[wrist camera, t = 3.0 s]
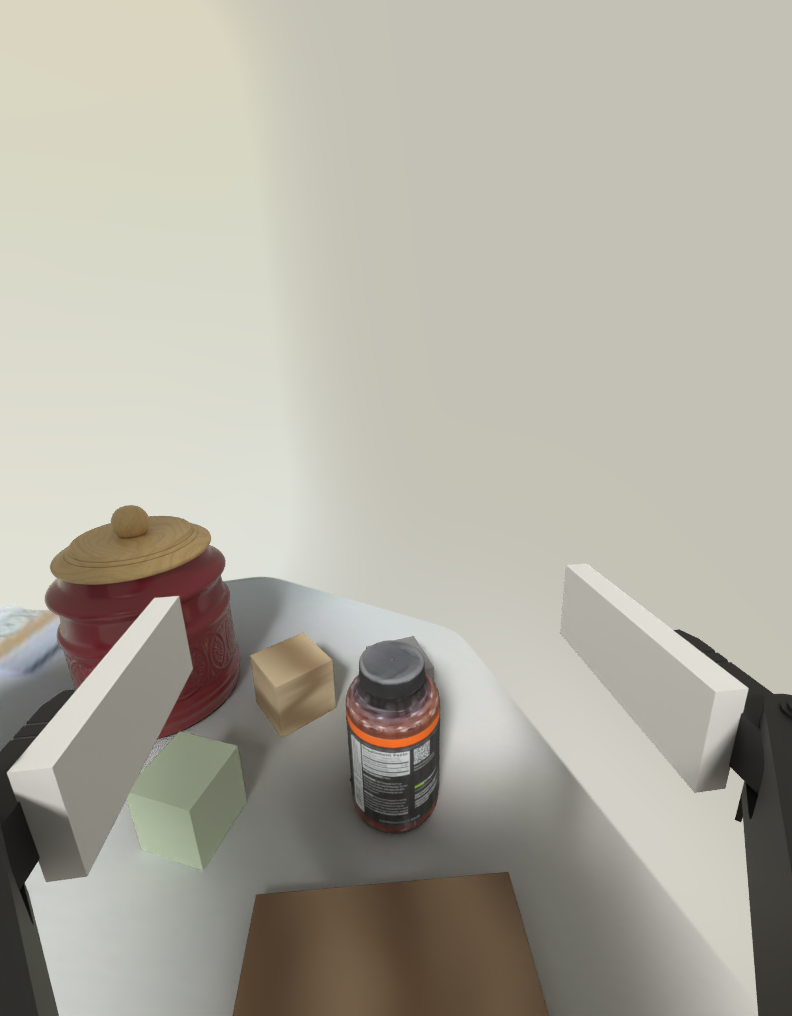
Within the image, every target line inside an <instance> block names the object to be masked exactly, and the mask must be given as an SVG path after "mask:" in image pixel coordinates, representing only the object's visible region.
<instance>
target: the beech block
mask: <svg viewBox="0 0 792 1016" xmlns="http://www.w3.org/2000/svg"><path fill="white" fill-rule="evenodd" d="M250 659H251V666H252V673H253V680H254V687H255V694H256V701H257V703H258V705H259V706H260V708H261V709H262V710H263V712H264V713H265V715H266V716H267V717H268V719H269V720H270V722H271V723H272V725H273V726H274V727H275V729H276V730H277V732H278V733H279V734H280V736H281V737H282V738H283V737H285V736H287V735H288V734H290V733H292V732H294V731H295V730H297V729H299V728H301V727H302V726H304V725H306V724H308V723H310V722H311V721H313V720H315V719H317V718H318V717H320V716H322V715H324V714H325V713H327V712H329V711H331V710H333V709H334V708H336V703H335V689H334V675H333V662H332V659H331V658H330V657H329V656H328V655H327V654H326V653H324V652H323V651H322V650H321V649H320V648H319V647H318V646H317V645H316V644H315V643H314V642H313V641H312V640H311V639H310V638H309V637H307V636H306V635H305V634H304V633H301V634H299V635H297V636H294V637H292V638H290V639H287V640H285V641H283V642H280V643H278V644H276V645H273V646H271V647H268V648H266V649H264V650H261V651H259V652H257V653H254V654H252V655H250Z"/></svg>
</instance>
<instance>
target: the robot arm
mask: <svg viewBox="0 0 792 1016" xmlns="http://www.w3.org/2000/svg"><path fill="white" fill-rule="evenodd" d="M560 634H561V635H562V636H563V637H564V639H565V640H566V641H567V642H568V643H569V645H570V646H571V647H572V648H573V649H574V650H575V652H576V653H577V654H578V655H579V656H580V657H581V659H582V660H583V661H584V662H585V664H586V665H587V666H588V667H589V668H590V669H591V671H592V672H593V673H594V674H595V675H596V676H597V678H598V679H599V680H600V681H601V682H602V683H603V685H604V686H605V687H606V688H607V690H608V691H609V692H610V693H611V694H612V695H613V697H614V698H615V699H616V700H617V701H618V703H619V704H620V705H621V706H622V707H623V709H624V710H625V711H626V712H627V713H628V714H629V716H630V717H631V718H632V719H633V720H634V722H635V723H636V724H637V725H638V726H639V727H640V729H641V730H642V731H643V732H644V733H645V734H646V736H647V737H648V738H649V739H650V740H651V742H652V743H653V744H654V745H655V746H656V747H657V749H658V750H659V751H660V752H661V753H662V755H663V756H664V757H665V758H666V759H667V761H668V762H669V763H670V764H671V765H672V767H673V768H674V769H675V770H676V771H677V772H678V774H679V775H680V776H681V777H682V778H683V779H684V781H685V782H686V783H687V784H688V785H689V787H690V788H691V789H692V790H693V791H694V792H695V793H696V792H703V791H711V790H717V789H725V787H726V783H727V779H728V775H729V770H730V767H731V768H732V769H733V770H734V771H735V772H736V773H737V774H738V775H739V776H740V777H741V778H742V779H743V780H744V781H745V782H744V785H743V789H742V793H741V798H740V801H739V805H738V810H737V814H736V817H735V820H737V821H739V822H741V821H742V818H743V822H744V834H745V848H746V861H747V874H748V887H749V900H750V912H751V926H752V939H753V952H754V965H755V978H756V991H757V1004H758V1016H792V695H787V694H773V693H772V692H770V691H769V690H768V689H766V688H765V687H763V686H762V685H761V684H759V683H758V682H757V681H756V680H754V679H753V678H751V677H750V676H749V675H747V674H746V673H745V672H743V671H742V670H741V669H739V668H738V667H737V666H735V665H734V664H732V663H731V662H730V663H729V662H728V661H727V659H726V658H724V657H723V656H722V655H720V654H719V653H715V651H714V650H713V649H712V648H711V647H709V646H708V645H707V644H705V643H704V642H702V641H701V640H700V639H698V638H696V637H694V636H692V635H690V634H687V633H685V632H683V631H681V630H672V629H671V628H669V627H668V626H667V625H666V624H664V623H663V622H662V621H661V620H659V619H658V618H657V617H655V616H654V615H653V614H651V613H650V612H649V611H648V610H646V609H645V608H644V607H642V606H641V605H640V604H638V603H637V602H636V601H634V600H633V599H632V598H630V597H629V596H628V595H627V594H625V593H624V592H623V591H621V590H620V589H619V588H618V587H616V586H615V585H614V584H612V583H611V582H610V581H609V580H607V579H606V578H605V577H603V576H602V575H601V574H599V573H598V572H597V571H596V570H594V569H593V568H592V567H590V566H589V565H588V564H575V565H566V571H565V582H564V594H563V606H562V618H561V629H560ZM192 670H193V666H192V661H191V656H190V650H189V645H188V640H187V635H186V629H185V624H184V619H183V614H182V608H181V603H180V598H179V596H172V597H160V598H154V599H153V600H152V601H151V602H150V604H149V605H148V606H147V607H146V608H145V610H144V611H143V612H142V613H141V614H140V616H139V617H138V618H137V619H136V620H135V621H134V623H133V624H132V625H131V626H130V627H129V629H128V630H127V631H126V632H125V633H124V634H123V636H122V637H121V638H120V639H119V640H118V642H117V643H116V644H115V645H114V646H113V647H112V649H111V650H110V651H109V652H108V653H107V655H106V656H105V657H104V658H103V659H102V661H101V662H100V663H99V664H98V665H97V666H96V668H95V669H94V670H93V671H92V672H91V674H90V675H89V676H88V677H87V678H86V679H85V681H84V682H83V683H82V684H81V685H80V687H79V688H78V689H77V690H68V691H63V692H61V693H60V694H58V695H57V696H56V697H54V698H53V699H51V700H50V701H48V702H47V703H46V704H44V705H43V706H41V708H40V709H39V710H38V711H37V712H36V713H35V714H34V715H33V716H32V717H31V719H30V720H29V721H28V722H27V723H26V726H23V727H22V728H21V730H20V731H19V732H18V733H17V734H16V735H15V736H14V739H13V741H10V742H9V743H8V744H7V745H6V746H5V747H4V748H3V749H2V750H1V752H0V1016H59V1014H58V1010H57V1006H56V1002H55V998H54V994H53V990H52V986H51V982H50V978H49V974H48V970H47V966H46V962H45V958H44V954H43V950H42V946H41V942H40V938H39V934H38V929H37V925H36V921H35V917H34V913H33V909H32V905H31V901H30V897H29V893H28V891H27V888H26V885H25V881H26V880H27V878H28V876H29V875H30V873H31V872H32V870H33V868H34V867H35V865H36V864H37V862H38V861H39V864H40V867H41V869H42V872H43V875H44V878H45V880H46V882H50V881H57V880H65V879H72V878H79V877H87V876H88V874H89V872H90V870H91V868H92V866H93V864H94V862H95V860H96V858H97V856H98V854H99V852H100V850H101V848H102V846H103V844H104V842H105V840H106V838H107V836H108V834H109V833H110V831H111V829H112V827H113V825H114V823H115V821H116V819H117V817H118V815H119V813H120V811H121V809H122V807H123V805H124V803H125V801H126V799H127V797H128V795H129V793H130V791H131V789H132V787H133V785H134V783H135V781H136V780H137V778H138V776H139V774H140V772H141V770H142V768H143V766H144V764H145V762H146V760H147V758H148V756H149V754H150V752H151V750H152V748H153V746H154V744H155V742H156V740H157V738H158V736H159V734H160V732H161V730H162V728H163V726H164V725H165V723H166V721H167V719H168V717H169V715H170V713H171V711H172V709H173V707H174V705H175V703H176V701H177V699H178V697H179V695H180V693H181V691H182V689H183V687H184V685H185V683H186V681H187V679H188V677H189V675H190V673H191V671H192Z"/></svg>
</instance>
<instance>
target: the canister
mask: <svg viewBox="0 0 792 1016" xmlns="http://www.w3.org/2000/svg"><path fill="white" fill-rule="evenodd" d="M210 542H211V535H210V533H209V531H208V530H207V529H205V528H203V527H201V526H199V525H196V524H192V523H189V522H188V521H186V520H184V519H181V518H178V517H171V516H150V517H148V515H147V513H146V512H145V511H144V510H143V509H141V508H140V507H138V506H133V505H132V506H130V505H129V506H124V507H121V508H119V509H117V510H116V511H115V512H114V514H113V516H112V518H111V523H110V524H106V525H103V526H100V527H97V528H94V529H92V530H90V531H87V532H85V533H83V534H82V535H80V536H78V537H77V538H76V539H74V540H73V541H72V542H71V544H70V545H69V546H68V547H67V548H65V549H64V550H62V551H61V552H60V553H59V554H58V555H56V556H55V558H54V559H53V560H52V562H51V565H50V569H51V572H52V574H53V575H54V576H55V577H57V579H56V580H55V581H54V582H53V583H52V584H51V585H50V587H49V588H48V590H47V592H46V595H45V603H46V605H47V607H48V609H49V610H50V611H52V612H53V613H55V614H56V615H58V616H59V617H60V622H61V623H60V625H59V627H58V630H57V641H58V643H59V645H60V647H61V648H62V649H63V651H64V654H65V657H66V661H67V664H68V667H69V670H70V674H71V677H72V680H73V683H74V686H75V690H77V689H78V688H79V687H80V685H81V684H82V683H83V682H84V681H85V679H86V678H87V677H88V676H89V675H90V674H91V672H92V671H93V670H94V669H95V668H96V666H97V665H98V664H99V663H100V662H101V661H102V659H103V658H104V657H105V656H106V655H107V653H108V652H109V651H110V650H111V649H112V647H113V646H114V645H115V644H116V643H117V642H118V640H119V639H120V638H121V637H122V636H123V634H124V633H125V632H126V631H127V630H128V629H129V627H130V626H131V625H132V624H133V623H134V621H135V620H136V619H137V618H138V617H139V616H140V614H141V613H142V612H143V611H144V610H145V608H146V607H147V606H148V605H149V604H150V602H151V601H152V600H153V599H154V598H160V597H172V596H179V598H180V603H181V608H182V614H183V619H184V624H185V629H186V635H187V640H188V645H189V650H190V656H191V661H192V666H193V670H192V671H191V673H190V675H189V677H188V679H187V681H186V683H185V685H184V687H183V689H182V691H181V693H180V695H179V697H178V699H177V701H176V703H175V705H174V707H173V709H172V711H171V713H170V715H169V717H168V719H167V721H166V723H165V725H164V726H163V728H162V730H161V732H160V734H159V736H158V738H157V739H159V738H162V737H166V736H168V735H171V734H174V733H177V732H179V731H181V730H184V729H186V728H188V727H190V726H192V725H194V724H195V723H197V722H199V721H200V720H202V719H204V718H205V717H207V716H208V715H209V714H211V713H212V712H213V711H214V710H216V709H217V708H218V707H219V706H220V705H221V704H222V703H223V702H224V701H225V700H226V699H227V698H228V696H229V695H230V694H231V692H232V691H233V689H234V687H235V685H236V683H237V680H238V675H239V665H240V655H239V648H238V644H237V642H236V640H235V635H234V629H233V622H232V616H231V610H230V603H229V601H230V591H229V589H228V587H227V585H226V584H225V583H224V582H223V581H222V578H221V574H222V572H223V570H224V567H225V558H224V556H223V554H222V553H221V552H220V551H219V550H218V549H216V548H215V547H213V546H210V545H209V544H210Z"/></svg>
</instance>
